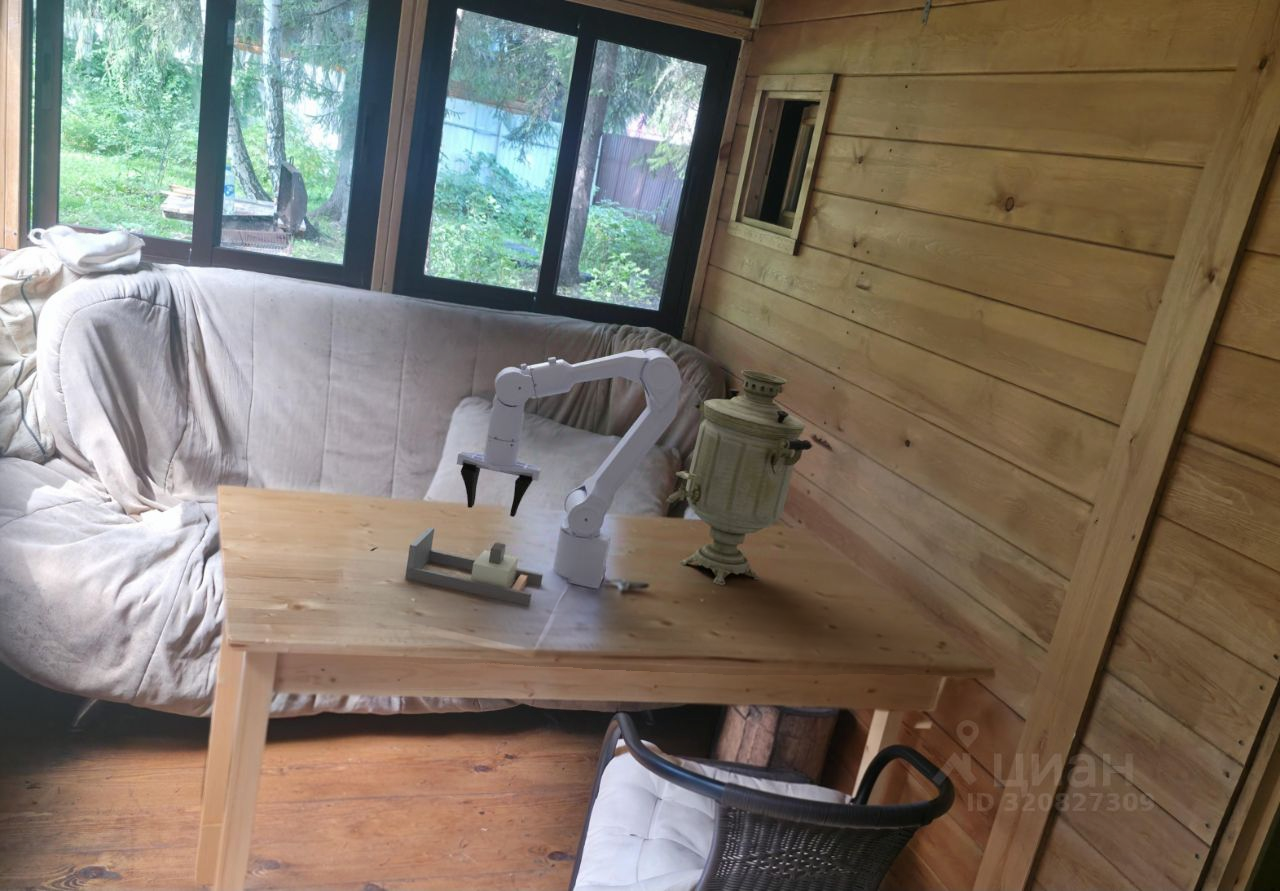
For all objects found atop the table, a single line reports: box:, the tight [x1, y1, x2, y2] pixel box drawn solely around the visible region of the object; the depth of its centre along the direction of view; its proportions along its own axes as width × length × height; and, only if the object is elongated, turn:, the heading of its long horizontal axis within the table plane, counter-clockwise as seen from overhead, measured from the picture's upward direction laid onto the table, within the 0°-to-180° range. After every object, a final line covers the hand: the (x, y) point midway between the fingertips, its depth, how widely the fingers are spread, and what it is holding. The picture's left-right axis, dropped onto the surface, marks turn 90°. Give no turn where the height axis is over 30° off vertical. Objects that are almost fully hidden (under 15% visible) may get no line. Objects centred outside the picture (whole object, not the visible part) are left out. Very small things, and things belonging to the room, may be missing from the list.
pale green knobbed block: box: [470, 542, 519, 588], centre depth 169 cm, size 6×7×7 cm
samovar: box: [666, 369, 814, 585], centre depth 195 cm, size 30×26×40 cm
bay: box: [404, 526, 544, 607], centre depth 169 cm, size 21×12×7 cm, turn 83°
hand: (491, 510), depth 177 cm, fingers open, 7 cm apart
